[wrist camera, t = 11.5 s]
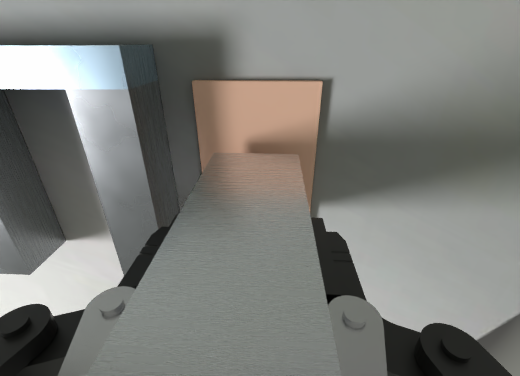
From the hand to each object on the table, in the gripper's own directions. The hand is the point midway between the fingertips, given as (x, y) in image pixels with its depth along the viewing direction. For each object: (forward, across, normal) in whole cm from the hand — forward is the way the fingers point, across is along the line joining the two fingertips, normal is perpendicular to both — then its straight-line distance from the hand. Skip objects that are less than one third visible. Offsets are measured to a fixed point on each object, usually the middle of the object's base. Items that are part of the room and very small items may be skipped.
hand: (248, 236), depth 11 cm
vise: (+5, +12, -1) cm, 13 cm away
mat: (+5, 0, 0) cm, 5 cm away
